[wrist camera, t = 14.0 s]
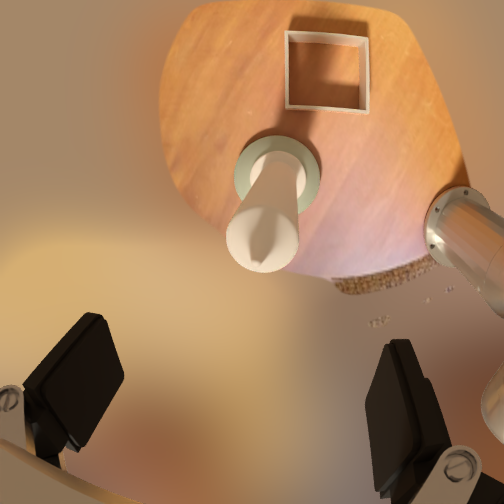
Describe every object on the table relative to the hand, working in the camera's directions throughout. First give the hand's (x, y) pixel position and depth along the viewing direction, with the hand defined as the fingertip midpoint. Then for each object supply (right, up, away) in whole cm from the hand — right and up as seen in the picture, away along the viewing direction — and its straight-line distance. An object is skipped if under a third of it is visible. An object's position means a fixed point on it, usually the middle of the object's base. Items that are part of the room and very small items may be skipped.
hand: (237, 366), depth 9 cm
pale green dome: (+4, +13, +30) cm, 33 cm away
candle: (+4, +13, +29) cm, 32 cm away
